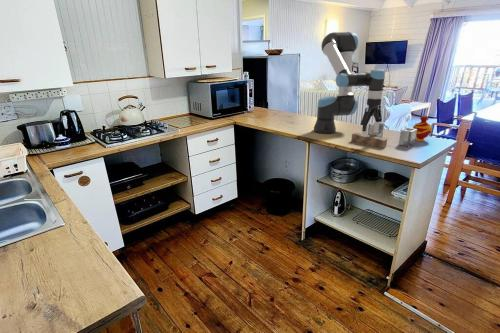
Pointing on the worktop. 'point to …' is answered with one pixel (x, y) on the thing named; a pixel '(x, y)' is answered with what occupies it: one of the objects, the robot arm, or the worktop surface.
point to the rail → (369, 140)
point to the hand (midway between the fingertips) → (369, 134)
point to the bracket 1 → (380, 131)
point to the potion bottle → (422, 129)
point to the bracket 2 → (408, 137)
